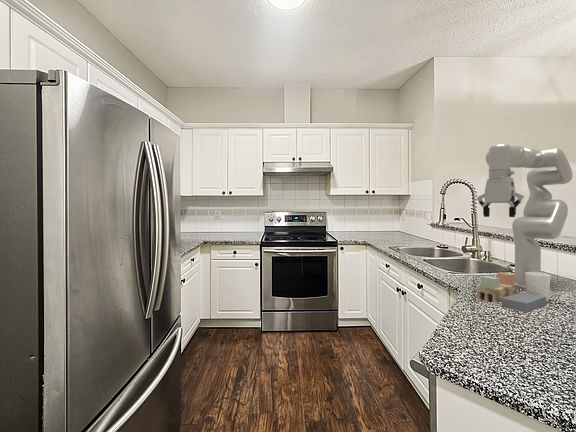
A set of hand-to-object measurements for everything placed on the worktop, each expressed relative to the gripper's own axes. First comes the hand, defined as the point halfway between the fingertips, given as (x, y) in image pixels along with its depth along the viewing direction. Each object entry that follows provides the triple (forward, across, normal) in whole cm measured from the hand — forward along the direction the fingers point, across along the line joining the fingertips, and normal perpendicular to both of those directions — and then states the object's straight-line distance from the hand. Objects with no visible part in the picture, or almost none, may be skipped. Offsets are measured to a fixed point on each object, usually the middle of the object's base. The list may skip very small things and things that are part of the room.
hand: (498, 216), depth 133 cm
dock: (+32, -12, +7) cm, 35 cm away
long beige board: (+33, -2, +3) cm, 33 cm away
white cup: (+32, -11, -6) cm, 35 cm away
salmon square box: (+27, -1, -3) cm, 28 cm away
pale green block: (+28, -2, +9) cm, 29 cm away
